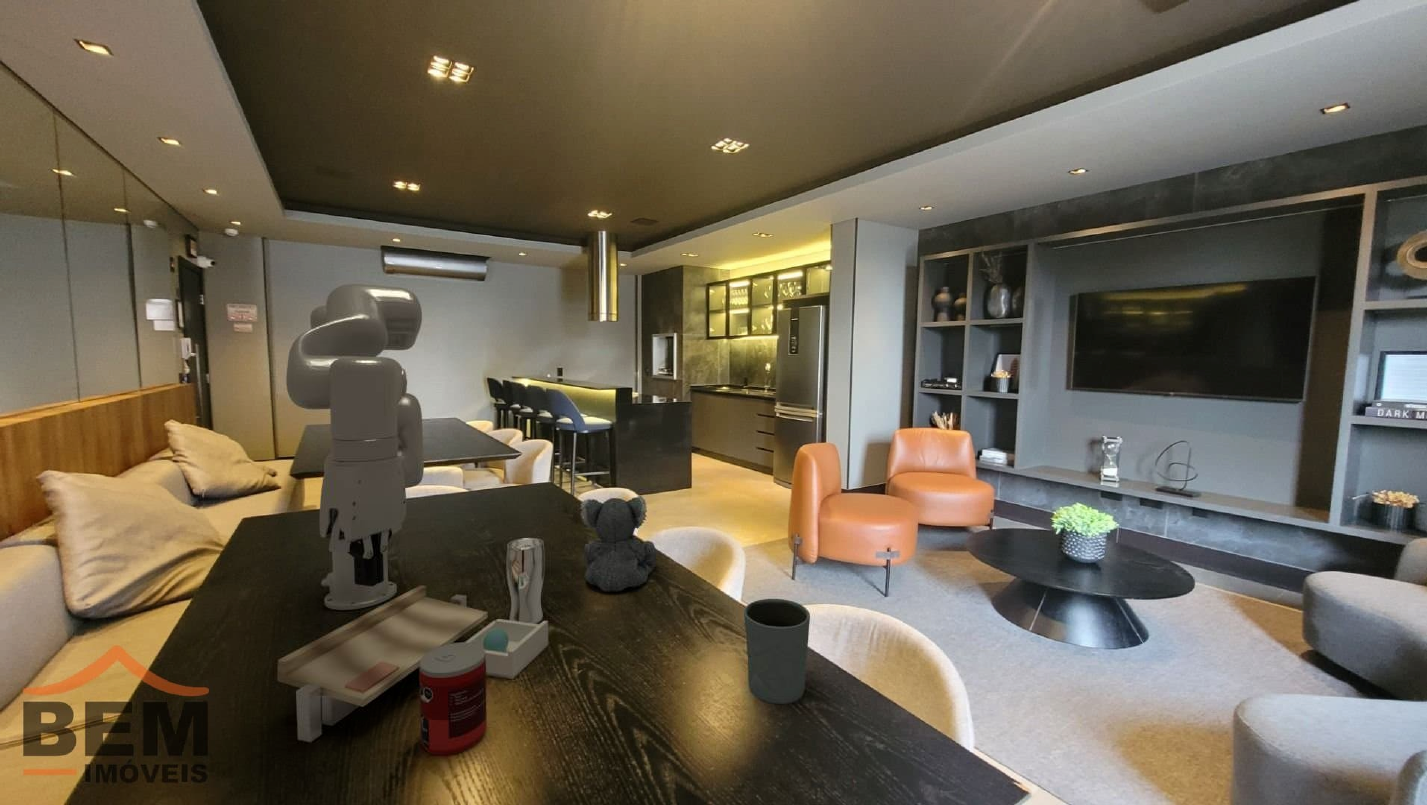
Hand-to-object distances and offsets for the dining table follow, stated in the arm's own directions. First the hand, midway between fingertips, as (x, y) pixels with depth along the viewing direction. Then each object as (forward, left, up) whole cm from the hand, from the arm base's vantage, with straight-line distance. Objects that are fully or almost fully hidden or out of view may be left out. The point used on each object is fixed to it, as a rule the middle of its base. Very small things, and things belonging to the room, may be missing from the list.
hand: (369, 582), depth 75 cm
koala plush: (+14, +54, -19) cm, 59 cm away
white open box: (+8, +18, -19) cm, 27 cm away
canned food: (+14, -1, -19) cm, 24 cm away
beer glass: (+5, +31, -19) cm, 37 cm away
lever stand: (-4, +9, -19) cm, 21 cm away
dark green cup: (+54, +21, -19) cm, 61 cm away
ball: (+7, +18, -17) cm, 25 cm away
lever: (-4, +9, -14) cm, 17 cm away
